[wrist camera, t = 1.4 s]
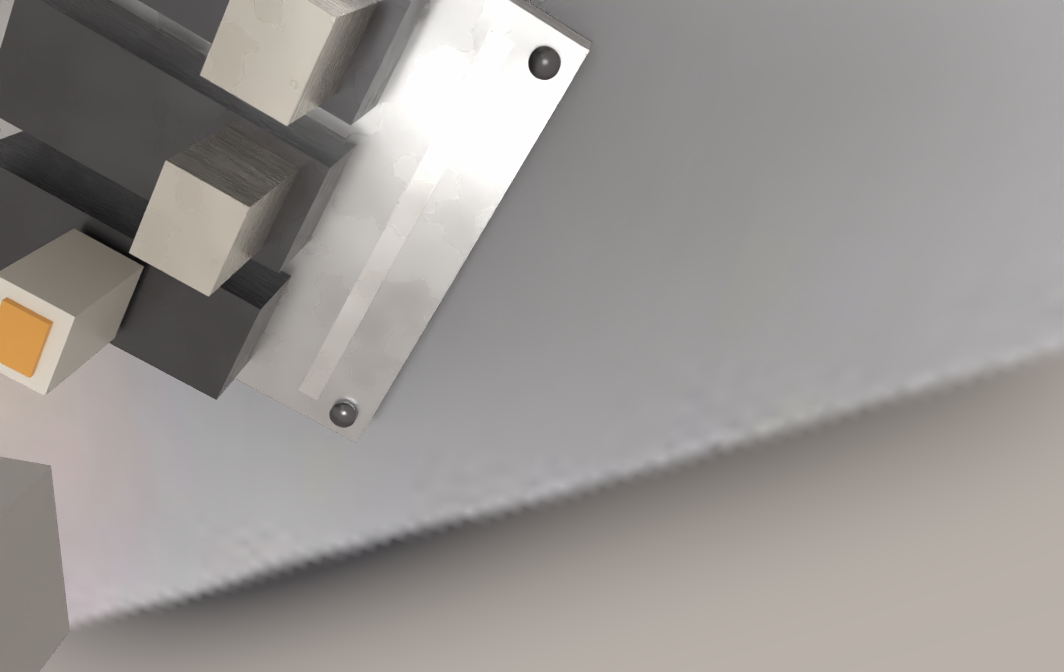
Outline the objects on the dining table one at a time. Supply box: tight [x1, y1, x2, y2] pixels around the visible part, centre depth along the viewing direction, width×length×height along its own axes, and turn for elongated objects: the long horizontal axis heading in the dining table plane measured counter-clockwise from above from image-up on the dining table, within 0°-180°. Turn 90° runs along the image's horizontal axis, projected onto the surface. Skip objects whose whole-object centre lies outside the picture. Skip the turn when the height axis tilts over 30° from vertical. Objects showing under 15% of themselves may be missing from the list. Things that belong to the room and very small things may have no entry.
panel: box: [0, 0, 592, 443], centre depth 28 cm, size 20×17×9 cm
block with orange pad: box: [0, 229, 144, 396], centre depth 28 cm, size 2×3×4 cm
